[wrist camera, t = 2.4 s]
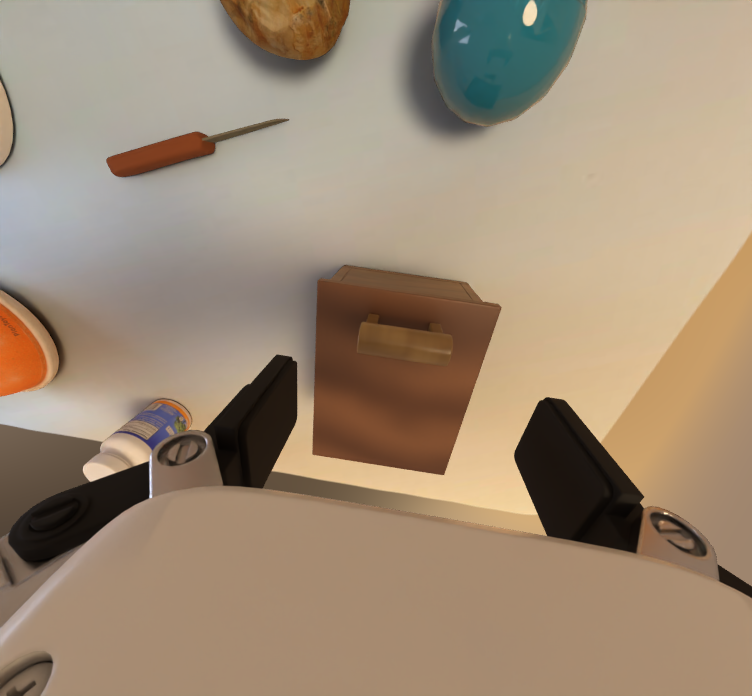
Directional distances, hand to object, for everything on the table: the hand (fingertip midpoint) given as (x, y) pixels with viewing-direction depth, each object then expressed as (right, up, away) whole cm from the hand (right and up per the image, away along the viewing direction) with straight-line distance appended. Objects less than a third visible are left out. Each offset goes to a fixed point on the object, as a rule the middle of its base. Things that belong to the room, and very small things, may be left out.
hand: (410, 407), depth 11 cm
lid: (0, -1, +11) cm, 11 cm away
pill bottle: (-28, -6, +26) cm, 39 cm away
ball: (+6, +22, +9) cm, 24 cm away
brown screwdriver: (-15, +19, +12) cm, 27 cm away
